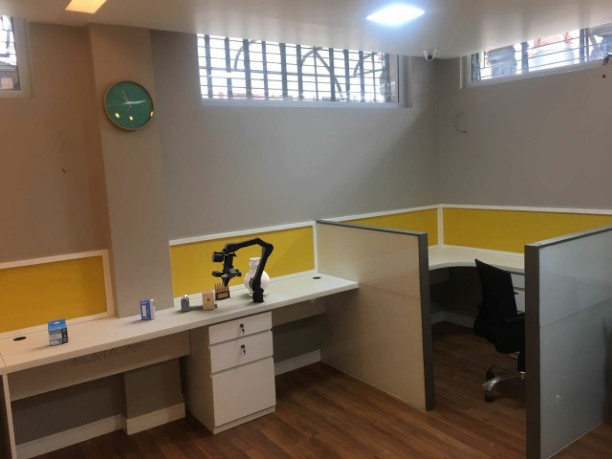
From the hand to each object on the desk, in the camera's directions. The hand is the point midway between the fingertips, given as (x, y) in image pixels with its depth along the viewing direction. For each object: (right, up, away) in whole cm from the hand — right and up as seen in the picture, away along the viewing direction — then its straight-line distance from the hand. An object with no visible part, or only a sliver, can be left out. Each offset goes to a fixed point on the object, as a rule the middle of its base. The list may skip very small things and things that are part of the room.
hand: (225, 287), depth 338 cm
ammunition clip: (-5, -10, +20) cm, 23 cm away
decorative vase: (+18, -8, +28) cm, 34 cm away
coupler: (-16, -13, -2) cm, 21 cm away
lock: (-10, -13, -1) cm, 17 cm away
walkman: (-43, -17, -18) cm, 50 cm away
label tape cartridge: (-80, -24, -55) cm, 100 cm away
